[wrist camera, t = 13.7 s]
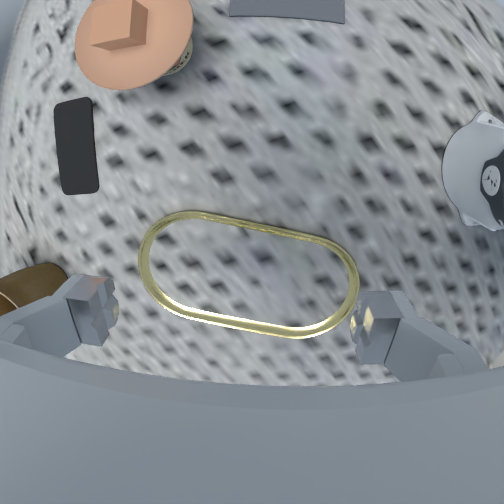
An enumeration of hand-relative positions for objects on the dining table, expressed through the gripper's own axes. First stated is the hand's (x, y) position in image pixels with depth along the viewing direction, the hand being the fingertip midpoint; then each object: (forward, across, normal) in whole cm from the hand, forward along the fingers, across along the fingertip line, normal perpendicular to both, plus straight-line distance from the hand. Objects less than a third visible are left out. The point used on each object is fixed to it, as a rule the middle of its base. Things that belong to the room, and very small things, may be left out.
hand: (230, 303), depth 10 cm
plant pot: (+34, -38, -22) cm, 56 cm away
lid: (+22, -13, +15) cm, 30 cm away
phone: (+35, -28, +2) cm, 45 cm away
